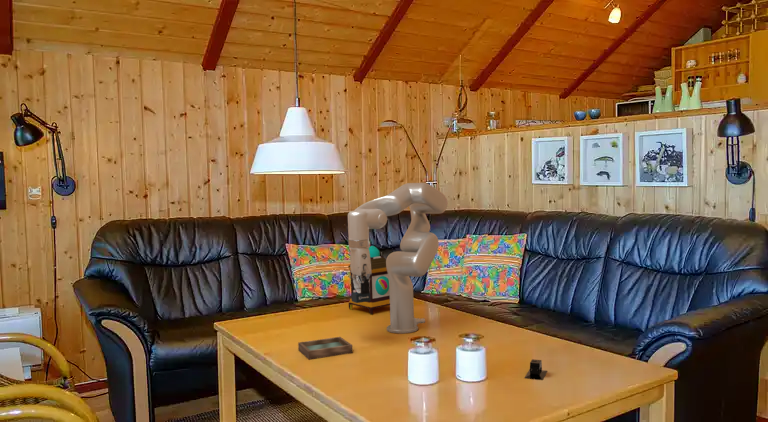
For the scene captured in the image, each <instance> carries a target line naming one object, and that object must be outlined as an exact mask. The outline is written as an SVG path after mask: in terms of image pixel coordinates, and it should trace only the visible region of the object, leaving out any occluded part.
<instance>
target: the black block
mask: <svg viewBox="0 0 768 422" xmlns="http://www.w3.org/2000/svg"><path fill="white" fill-rule="evenodd" d="M542 361H543V360H542V359H533V358H532V359H531V360H530V362H529V369H528V370H527V372H526V374H525V376H524V378H523V379H527V380H536V381H543V380H544V379H545V378H546V374H547V373H548V370H546V369H543V363H542Z"/></svg>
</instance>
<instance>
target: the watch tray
mask: <svg viewBox="0 0 768 422" xmlns="http://www.w3.org/2000/svg"><path fill="white" fill-rule="evenodd" d="M297 346H298V349H297V350H298V351H299V352H300V353H301V354H302V355H303V356H304V357H305V358H306V359H308V360H316V359H322V358H328V357H335V356H341V355H348V354H353V344H351V343H350V342H349V341H347V340H345V339H344V338H342V337H341V336H337V337H329V338H322V339H321V338H320V339H314V340H307V341H301V342H298V343H297Z"/></svg>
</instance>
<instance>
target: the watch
mask: <svg viewBox="0 0 768 422" xmlns="http://www.w3.org/2000/svg"><path fill="white" fill-rule="evenodd" d="M363 279H364V277H363ZM353 280H354V281H353V283H354V288H355V290H356V291H357V292H353V293H351V292H350V297H351V296H352V301H353V302H355V303H360V302H367V301H370V293H368V294H361V283H362V282H361V278H360V276H357V275H354V277H353ZM369 280H370V279H369Z"/></svg>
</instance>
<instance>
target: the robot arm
mask: <svg viewBox="0 0 768 422" xmlns="http://www.w3.org/2000/svg"><path fill="white" fill-rule="evenodd" d="M448 202H449V201H448V199H447V196H446V195H445V194H444V193H443V192H442V191H440V190H439V189H437V188H436V187H434V186H432V185H430V184H428V183H426V182H407V183H404V184H402V185H400V186H399V187H398V188H396V189H395V190H393V191H391V192H389V193H388V194H387V195H384V196H380V197H378V198H375V199H371V200H369V201H366V202H364V203H362V204H360V206H358V207H356V208H355V209H354V210H351V211H349V212H348V213H347V231H348V249H349V250H350V253H349V254H350V255H349V258H350V259H349V263H350V264H349V265H350V268H351V273H350V275H351V274H352V290H355V288H354V283H353V281H354V280H353V277H354V275H357V276H360V278H361V282H362V283H361V294H368V293H370V287H369V282H370V280H369V279H370V275H371V273H372V272H371V260H370V252H369V249H368V248H369V247H370V230H379V229H381V228H384V227H385V226H386V224H387V222H388V217H391V216H396V215H398V214H400V213H401V212H403V211H404V210H406V209H407V208H408V207H409V211H410V219H411V221H410V223H409V226H408V227H407V230H406V231H405V233H404V235H403V237H402V238H401V240H400V245H399V249H400V251H393V252H390V253H389V254H388V256H387V257H386V258H385V259H386V268H387V272H388V277H389V291H390V305H389V317H390V318H389V319H390V323H389V325H387V327H386V331H387V332H389V333H392V334H410V333H414V332H416V331H418V330H419V326H418V325H419V324H425V323H426V319H425V318H424V317H423V318H422V317H421V318H419V317H417V318H416V317H415V313H414V312H415V308H414V307H415V305H414V285H413V281H412V279H411V278H410V277H412V278H413V277H414V278H420V277H423V276H424V275H425V274H427V272H428V270H429V269H430V267H431V265H432V263H433V261H434V259H435V257H436V255H437V253H438V250H439V245H440V244H439V238H438V236H437V235H436V234H435V233H434V232H430V230H431V225H430V224H431V223H430V221H429V220H428V217H427V215H426V214H433V215H435V214H439V215H440V214H443V213H444V212H446V210H447V208H448ZM363 277H364V279H363Z"/></svg>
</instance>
